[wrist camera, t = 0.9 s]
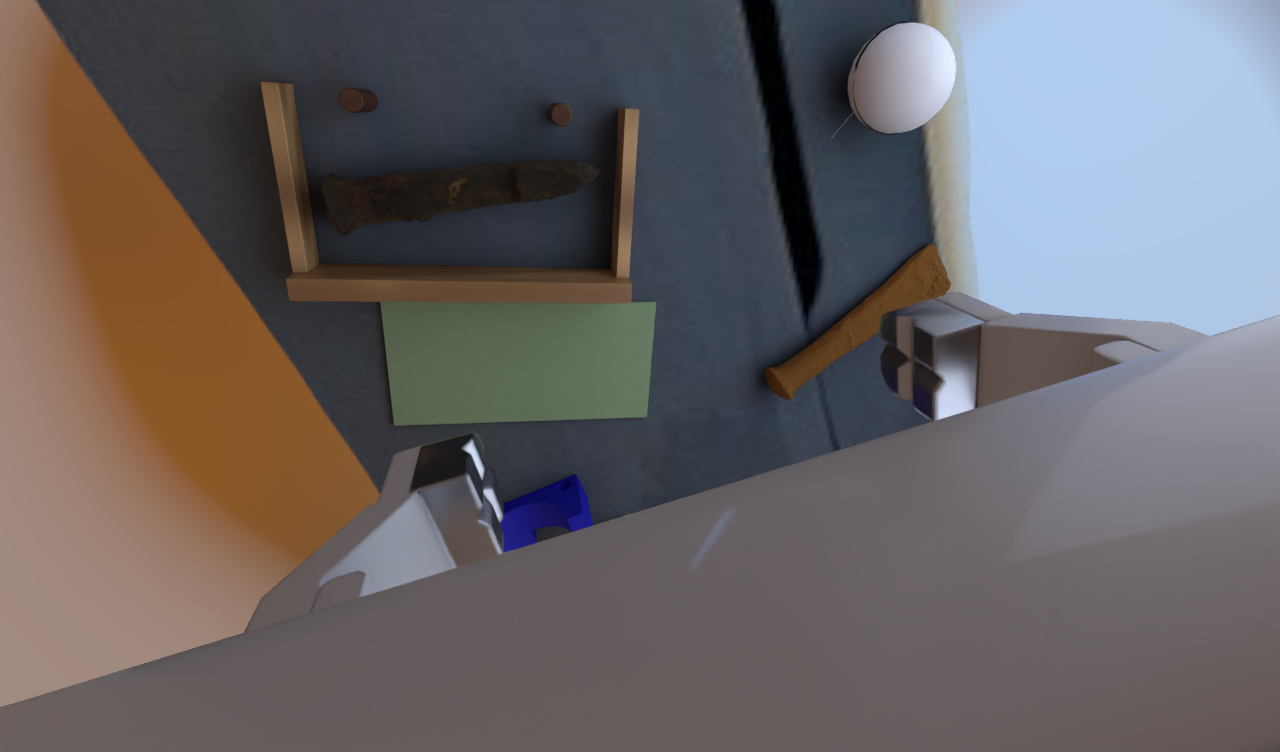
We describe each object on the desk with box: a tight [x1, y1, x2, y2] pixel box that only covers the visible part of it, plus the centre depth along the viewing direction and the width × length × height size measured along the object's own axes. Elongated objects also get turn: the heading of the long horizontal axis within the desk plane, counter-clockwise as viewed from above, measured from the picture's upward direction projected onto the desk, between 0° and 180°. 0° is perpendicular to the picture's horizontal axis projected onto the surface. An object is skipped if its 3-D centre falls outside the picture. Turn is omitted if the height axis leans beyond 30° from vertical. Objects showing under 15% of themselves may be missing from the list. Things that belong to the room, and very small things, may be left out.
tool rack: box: [261, 82, 639, 303], centre depth 43 cm, size 14×24×4 cm, turn 86°
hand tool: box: [322, 160, 600, 236], centre depth 43 cm, size 19×4×5 cm, turn 93°
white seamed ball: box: [831, 21, 956, 138], centre depth 44 cm, size 10×7×7 cm
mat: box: [380, 302, 656, 426], centre depth 51 cm, size 11×22×1 cm, turn 86°
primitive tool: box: [765, 244, 951, 400], centre depth 55 cm, size 19×6×4 cm, turn 125°
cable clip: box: [500, 474, 593, 553], centre depth 55 cm, size 12×4×6 cm, turn 109°
